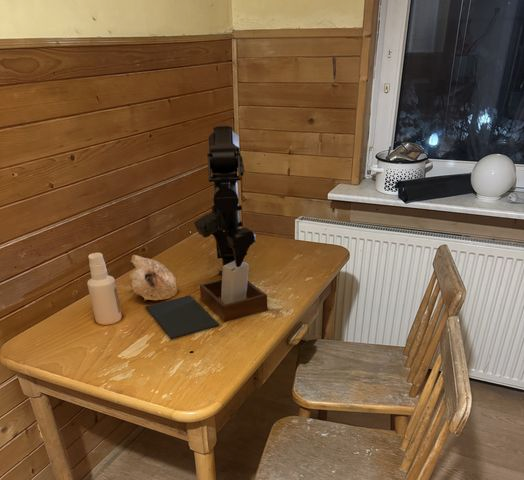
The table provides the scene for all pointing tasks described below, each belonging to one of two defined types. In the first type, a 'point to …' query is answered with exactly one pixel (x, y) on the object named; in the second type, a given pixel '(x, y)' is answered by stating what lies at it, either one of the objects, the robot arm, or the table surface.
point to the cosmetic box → (234, 282)
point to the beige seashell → (152, 279)
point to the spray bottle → (103, 292)
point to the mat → (181, 316)
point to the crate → (235, 309)
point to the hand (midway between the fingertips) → (230, 260)
